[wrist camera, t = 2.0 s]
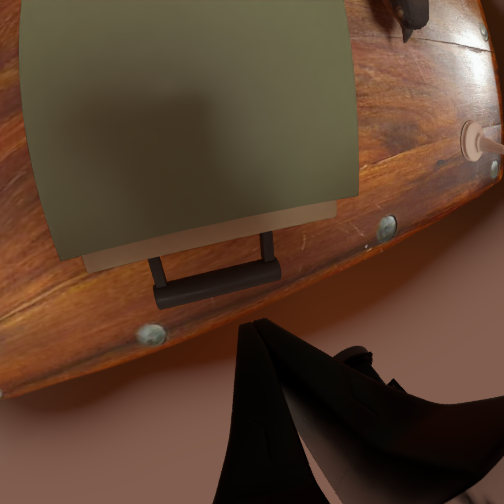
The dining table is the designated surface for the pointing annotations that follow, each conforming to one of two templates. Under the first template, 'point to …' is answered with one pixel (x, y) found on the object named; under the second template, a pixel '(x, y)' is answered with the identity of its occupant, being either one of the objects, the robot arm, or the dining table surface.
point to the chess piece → (477, 142)
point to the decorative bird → (409, 14)
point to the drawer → (206, 235)
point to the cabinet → (183, 113)
